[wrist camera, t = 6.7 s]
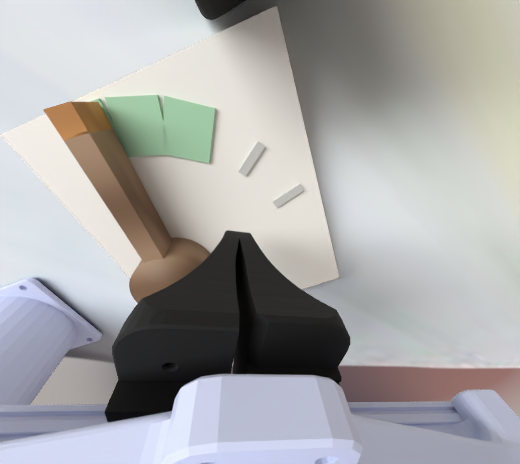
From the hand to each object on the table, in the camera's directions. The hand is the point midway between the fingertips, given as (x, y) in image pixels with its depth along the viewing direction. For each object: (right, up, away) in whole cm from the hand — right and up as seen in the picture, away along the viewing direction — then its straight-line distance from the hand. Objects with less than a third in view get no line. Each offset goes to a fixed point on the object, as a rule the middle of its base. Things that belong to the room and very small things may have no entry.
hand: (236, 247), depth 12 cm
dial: (-6, +2, +2) cm, 6 cm away
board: (-2, +2, +4) cm, 5 cm away
